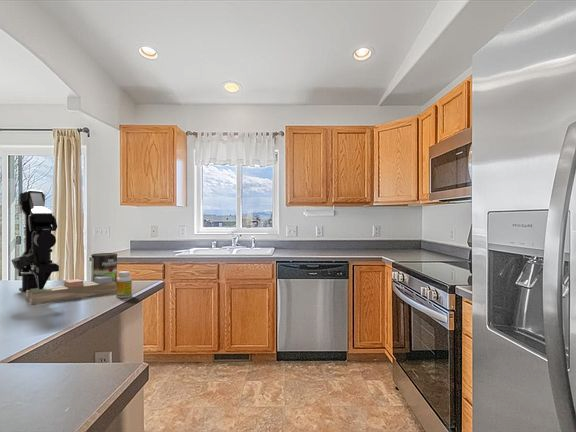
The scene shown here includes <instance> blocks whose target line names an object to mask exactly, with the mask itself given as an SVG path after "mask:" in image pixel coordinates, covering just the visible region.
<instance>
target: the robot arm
mask: <svg viewBox="0 0 576 432" xmlns="http://www.w3.org/2000/svg"><path fill="white" fill-rule="evenodd" d="M45 196H46V195H45V194H44V193H43V190H39V189H38V190H37V189H35V190H34V189H29V190H26V191H24V192H22V193H19V195H18V202H17V203H18V205H20V210H21V212H22V213H23V215H24V235H25V236H24V252H23V253H22V254H21V256H18V257H15V258H13V259H10V261H11V262H12V265H13V267H14V269H15V270H16V269H17V277H21V287H19V289H18V290H20V291H21V292H25V293H26V290H31V289H34V288H39V289H43V288H44V287H46V286H45V285H46V283H47V282H48V280H49V278H50V276H51V275H52V273H55V272H59V271H60V266H59V264H57V263H55V262H53V260H51V253H52V252H53V249H52V248H53V247H54V246H55V245H56V243H57V238H56V235H54V234H53V233H52V232H56V231H57V229H58V222H57V218H56V217H55V215H53V212H52V210H51V209H50V208H49V209H48V208H46V207H47V206H46V205H45V203H46V197H45Z"/></svg>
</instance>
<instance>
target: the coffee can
mask: <svg viewBox="0 0 576 432" xmlns="http://www.w3.org/2000/svg"><path fill="white" fill-rule="evenodd" d="M90 255H91V264H90V265H91V268H90V269H91V274H90V275H91V276H90V277H91V278H90V282H94V277H99V276H110V277H112V281H114V282H116V286H117V278H118V275H117V274H118V272H117V271H118V270H117V269H118V253H115V252H99V253H91V254H90Z"/></svg>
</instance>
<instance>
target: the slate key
mask: <svg viewBox="0 0 576 432" xmlns="http://www.w3.org/2000/svg"><path fill="white" fill-rule="evenodd" d="M94 282H95V283H98V284H102V283H109V282H112V277H110V276H99V277H94Z"/></svg>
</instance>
